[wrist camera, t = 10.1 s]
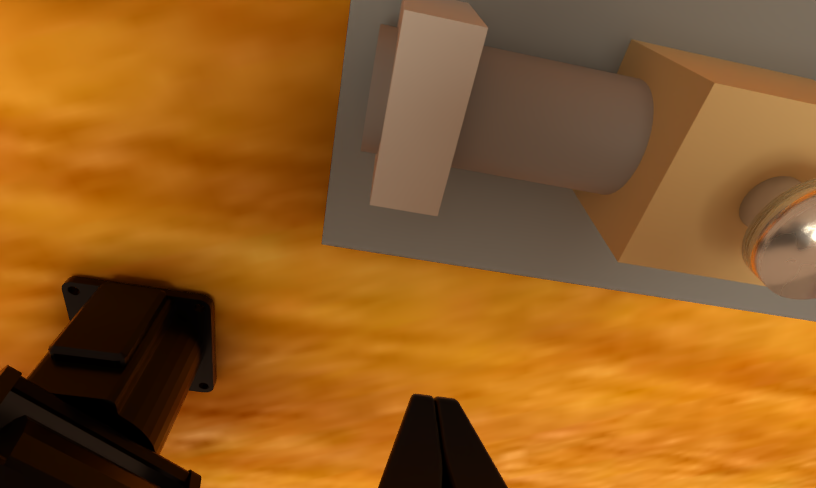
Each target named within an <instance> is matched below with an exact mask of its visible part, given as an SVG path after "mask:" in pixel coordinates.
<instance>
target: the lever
mask: <svg viewBox="0 0 816 488" xmlns="http://www.w3.org/2000/svg"><path fill="white" fill-rule="evenodd" d="M742 257H743V260H744V262H745V264H746V266H747V267H748V268H749V269H750V270H751V271H752V272H753V273H754V274H755V275H756V276H757V277H758V278H759V279H760V280H761V281H762V282H763V283H764V284H765V285H766V286H767V287H768V288H769V289H770V290H771V291H772V292H773V293H775V294H777V295H779V296H782V297H785V298H789V299H798V300H805V299H815V298H816V178H814V179H811V180H808V181H805V182H802V183H800V184H798V185H796V186H793V187H791V188H790V189H788V190H786V191H784V192H783V193H781V194H780V195H778V196H777V197H775V198H774V199H773V200H771V201H770V202H769V203H768V204H767V205H766V206H765V207H764V208H762V209H761V210H760V212H759V213H758V214H757V215H756V216H755V217H754V219H753V220H752V222H751V223H750V225H749V226H748V228H747V230H746V232H745V235H744V238H743V242H742Z"/></svg>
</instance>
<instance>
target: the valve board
mask: <svg viewBox="0 0 816 488" xmlns="http://www.w3.org/2000/svg"><path fill="white" fill-rule="evenodd" d="M814 178H816V0H351V4H350V12H349V20H348V29H347V37H346V45H345V54H344V62H343V70H342V79H341V87H340V95H339V104H338V112H337V120H336V129H335V137H334V145H333V154H332V162H331V170H330V179H329V187H328V195H327V204H326V212H325V220H324V229H323V237H322V244H323V245H330V246H336V247H343V248H349V249H355V250H362V251H368V252H375V253H381V254H387V255H394V256H400V257H407V258H413V259H419V260H426V261H432V262H438V263H445V264H451V265H458V266H464V267H470V268H477V269H483V270H490V271H496V272H502V273H509V274H515V275H522V276H528V277H534V278H541V279H547V280H554V281H560V282H566V283H573V284H579V285H585V286H592V287H598V288H605V289H611V290H617V291H624V292H630V293H637V294H643V295H649V296H656V297H662V298H669V299H675V300H681V301H688V302H694V303H700V304H707V305H713V306H720V307H726V308H732V309H739V310H745V311H752V312H758V313H764V314H771V315H777V316H784V317H790V318H796V319H803V320H809V321H815V322H816V298H815V299H805V300H798V299H789V298H785V297H782V296H779V295H777V294H775V293H773V292H772V291H771V290H770V289H769V288H768V287H767V286H766V285H765V284H764V283H763V282H762V281H761V280H760V279H759V278H758V277H757V276H756V275H755V274H754V273H753V272H752V271H751V270H750V269H749V268H748V267H747V266H746V264H745V262H744V260H743V257H742V242H743V238H744V235H745V232H746V230H747V228H748V226H749V225H750V223H751V222H752V220H753V219H754V217H755V216H756V215H757V214H758V213H759V212H760V210H761V209H762V208H764V207H765V206H766V205H767V204H768V203H769V202H770V201H771V200H773V199H774V198H775V197H777V196H778V195H780V194H781V193H783V192H784V191H786V190H788V189H790V188H791V187H793V186H796V185H798V184H800V183H802V182H805V181H808V180H811V179H814Z"/></svg>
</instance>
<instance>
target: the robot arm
mask: <svg viewBox="0 0 816 488" xmlns="http://www.w3.org/2000/svg"><path fill="white" fill-rule="evenodd" d="M75 287H76V288H77V289H76V288H75ZM62 292H63V296H64V299H65V303H66V307H67V311H68V315H69V319H70V322H69V324H68V325H67V326H66V327H65V328H64V330H63V331H62V332H61V333H60V334H59V336H58V337H57V338H56V339H55V340H54V342H53V343H52V344H51V345H50V347H49V349H48V350H49V352H48V353H47V354H46V355H45V357H44V358H43V359H42V360H41V361H40V363H39V364H38V365H37V366H36V368H35V369H34V370H33V371H32V372H31V374H30V375H29V376H28V377H27V379H26V378H24V377H22V376H21V375H22V373H21V372H19V371H17V370H16V369H14V368H12V367H10V366H9V365H7V366H6V367H4V368H3V369H2V370H0V488H200V484H201V476H200V475H199V474H197V473H195V472H193V471H192V470H189V471H187V470H185V469H183V468H181V467H180V466H178V465H176V464H174V463H173V462H171V461H169V460H167V459H166V458H164V457H162V456H160V455H159V454H160V452H161V450H162V448H163V446H164V443H165V441H166V439H167V437H168V435H169V432H170V430H171V428H172V426H173V424H174V421H175V419H176V417H177V415H178V413H179V410H180V408H181V406H182V404H183V402H184V399H185V397H186V395H187V393H188V390H189V391H198V392H210V391H212V390H213V388H214V386H215V383H216V366H215V334H214V304H213V301H212V299H211V298H210V297H208V296H206V295H203V294H196V293H189V292H182V291H175V290H168V289H161V288H154V287H147V286H139V285H132V284H125V283H118V282H111V281H104V280H97V279H90V278H82V277H70V278H69V279H68V280H67V281H66V282H65V283H64V284H63V285H62ZM199 304H201V305H203V306H204V307H203V306H200V305H199ZM378 488H508V487H507V485H506V484H505V482H504V480H503V478H502V477H501V475H500V473H499V471H498V470H497V468H496V466H495V465H494V463H493V461H492V459H491V458H490V456H489V454H488V452H487V451H486V449H485V447H484V445H483V444H482V442H481V440H480V439H479V437H478V435H477V433H476V432H475V430H474V428H473V426H472V425H471V423H470V421H469V419H468V418H467V416H466V414H465V412H464V411H463V409H462V407H461V406H460V404H459V402H458V401H457V400H456V399H453V398H446V397H435V398H433V397H432V396H430V395H422V394H413V395H412V396H411V398H410V401H409V403H408V406H407V409H406V412H405V415H404V417H403V420H402V423H401V426H400V428H399V431H398V434H397V437H396V439H395V442H394V445H393V448H392V451H391V453H390V456H389V459H388V462H387V464H386V467H385V470H384V473H383V475H382V478H381V481H380V484H379V487H378Z"/></svg>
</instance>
